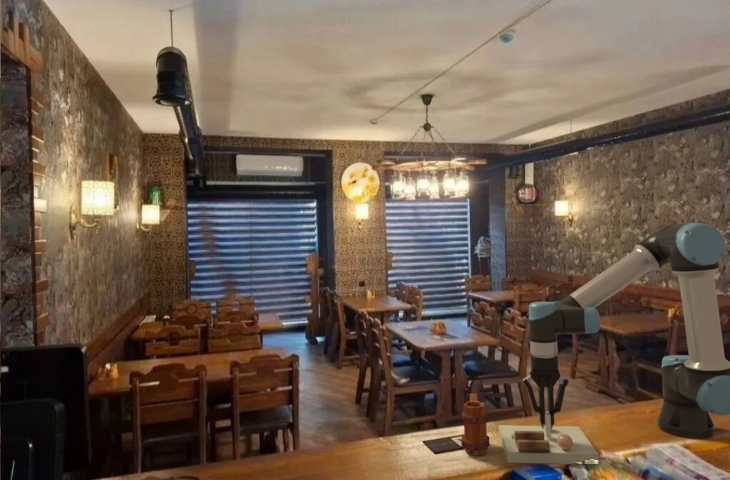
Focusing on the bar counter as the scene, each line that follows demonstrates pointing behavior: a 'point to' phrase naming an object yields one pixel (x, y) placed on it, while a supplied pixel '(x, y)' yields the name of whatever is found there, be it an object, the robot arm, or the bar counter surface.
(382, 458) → the bar counter surface
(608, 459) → the bar counter surface
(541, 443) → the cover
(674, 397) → the robot arm
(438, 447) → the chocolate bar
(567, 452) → the board
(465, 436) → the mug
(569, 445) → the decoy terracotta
